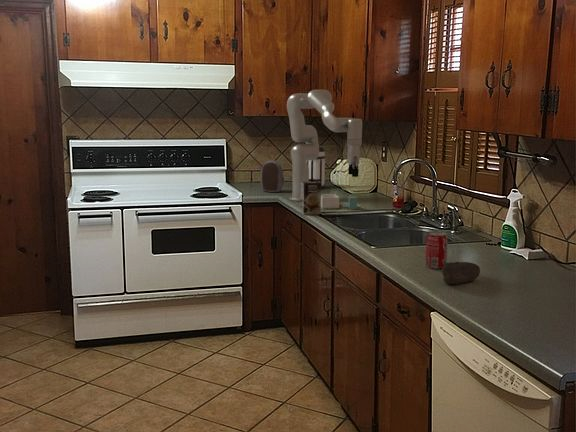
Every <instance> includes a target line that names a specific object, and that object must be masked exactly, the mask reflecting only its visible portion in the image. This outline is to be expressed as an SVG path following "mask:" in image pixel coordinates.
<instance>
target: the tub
mask: <svg viewBox="0 0 576 432" xmlns="http://www.w3.org/2000/svg"><path fill="white" fill-rule="evenodd" d="M339 203H340V197H339V196H338V195H337V194H336V193H321V209H322V210H332V209H333V210H335V209H336V210H337V208H339V209H340V207H339Z"/></svg>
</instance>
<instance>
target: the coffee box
mask: <svg viewBox="0 0 576 432" xmlns="http://www.w3.org/2000/svg"><path fill="white" fill-rule="evenodd" d="M321 194H322V189H321V183H320V182H301V201H300V207H299V210H300V214H302V215H303V216H308V215H309V216H311V215H313V216H314V215H321V213H322V212H321V209H322V208H321Z"/></svg>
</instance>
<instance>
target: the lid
mask: <svg viewBox="0 0 576 432" xmlns="http://www.w3.org/2000/svg"><path fill="white" fill-rule="evenodd" d="M357 203H358V197H357V196H348V202H339V205H340V206H342V207H343V208H349V209H357V208H361V206H362V205H360V204H359V203H358V204H357Z"/></svg>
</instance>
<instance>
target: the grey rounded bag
mask: <svg viewBox="0 0 576 432" xmlns="http://www.w3.org/2000/svg"><path fill="white" fill-rule="evenodd" d="M284 184H285V177H284V171H283V167H282V164H280V163H279V162H278V161H276V160H273V159H270V160H266V161H265V162H264V163H263V165H262V166H261V170H260V185H261V189H262V191H263V192H267V193H278V192H281V191H282V190H283V186H284Z"/></svg>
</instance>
